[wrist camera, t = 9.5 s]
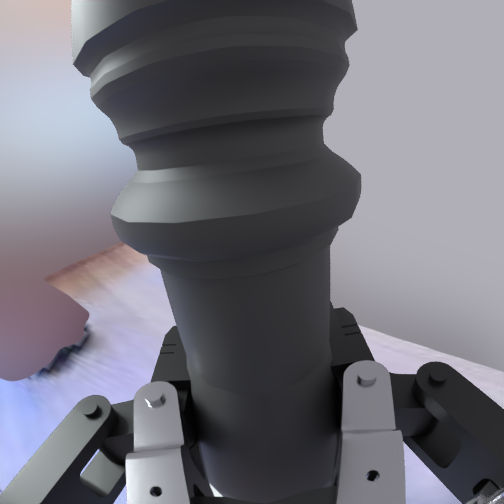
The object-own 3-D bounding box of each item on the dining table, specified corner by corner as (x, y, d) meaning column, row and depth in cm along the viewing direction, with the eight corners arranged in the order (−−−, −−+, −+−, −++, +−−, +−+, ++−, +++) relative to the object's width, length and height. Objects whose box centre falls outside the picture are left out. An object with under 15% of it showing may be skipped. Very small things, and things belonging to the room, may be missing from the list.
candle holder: (343, 530, 11) (390, -118, 1) (240, 552, 11) (16, -86, 1) (317, 457, 17) (296, -15, 7) (228, 474, 16) (106, 9, 6)
